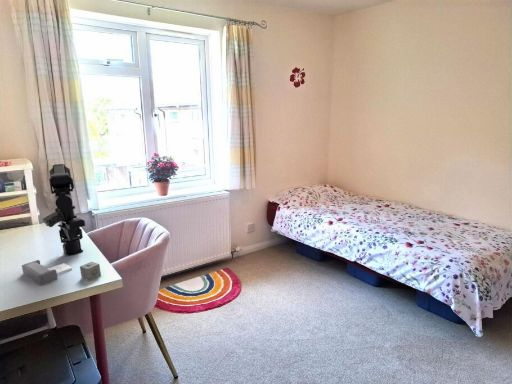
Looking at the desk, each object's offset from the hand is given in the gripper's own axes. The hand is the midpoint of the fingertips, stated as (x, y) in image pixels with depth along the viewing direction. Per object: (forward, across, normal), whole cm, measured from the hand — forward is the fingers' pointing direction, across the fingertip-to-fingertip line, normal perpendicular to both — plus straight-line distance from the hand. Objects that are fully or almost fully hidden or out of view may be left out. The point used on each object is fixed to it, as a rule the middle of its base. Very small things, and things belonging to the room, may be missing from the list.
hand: (70, 240), depth 144 cm
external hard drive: (+12, 0, -9) cm, 15 cm away
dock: (+11, 0, -14) cm, 17 cm away
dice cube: (+11, +18, -2) cm, 21 cm away
